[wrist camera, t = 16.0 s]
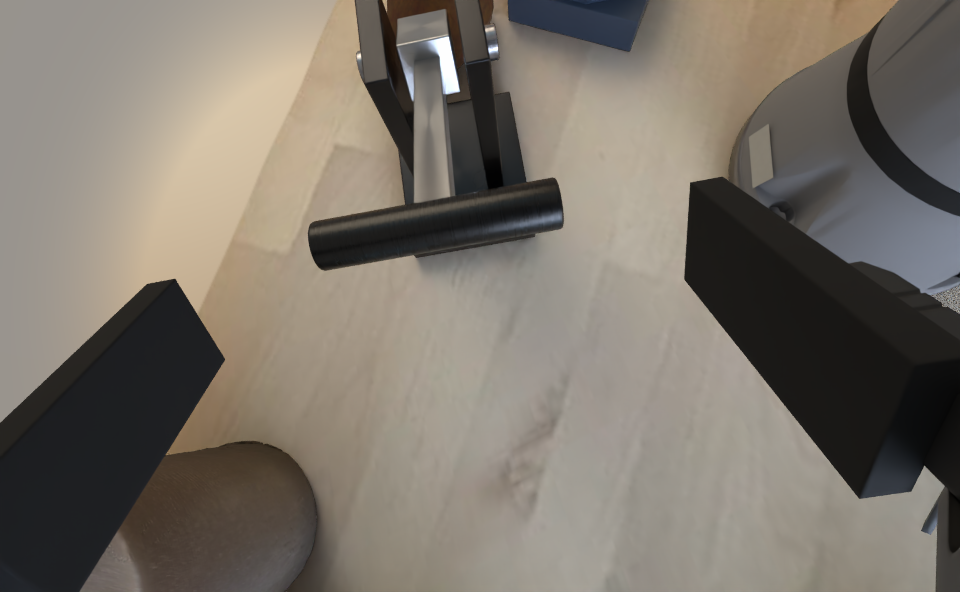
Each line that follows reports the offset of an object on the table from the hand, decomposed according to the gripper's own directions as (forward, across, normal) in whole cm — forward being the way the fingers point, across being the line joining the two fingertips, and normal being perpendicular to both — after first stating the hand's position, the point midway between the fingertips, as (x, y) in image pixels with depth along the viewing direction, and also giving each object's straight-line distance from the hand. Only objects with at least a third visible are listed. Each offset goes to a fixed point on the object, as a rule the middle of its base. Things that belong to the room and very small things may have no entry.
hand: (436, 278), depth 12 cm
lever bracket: (+21, 0, +4) cm, 21 cm away
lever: (+8, 0, -1) cm, 8 cm away
